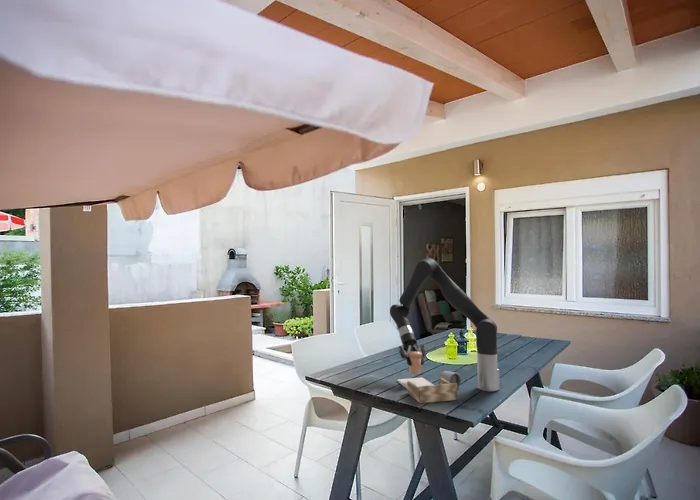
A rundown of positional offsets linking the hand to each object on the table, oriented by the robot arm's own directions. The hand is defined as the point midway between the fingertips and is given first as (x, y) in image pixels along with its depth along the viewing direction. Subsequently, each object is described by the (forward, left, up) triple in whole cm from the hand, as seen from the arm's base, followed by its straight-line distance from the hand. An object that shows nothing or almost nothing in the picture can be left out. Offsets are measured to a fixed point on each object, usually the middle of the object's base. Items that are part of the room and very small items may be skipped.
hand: (416, 364), depth 196 cm
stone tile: (0, -2, -10) cm, 10 cm away
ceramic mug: (-14, +7, -11) cm, 19 cm away
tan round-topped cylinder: (0, -2, -4) cm, 5 cm away
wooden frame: (0, +16, -10) cm, 19 cm away
